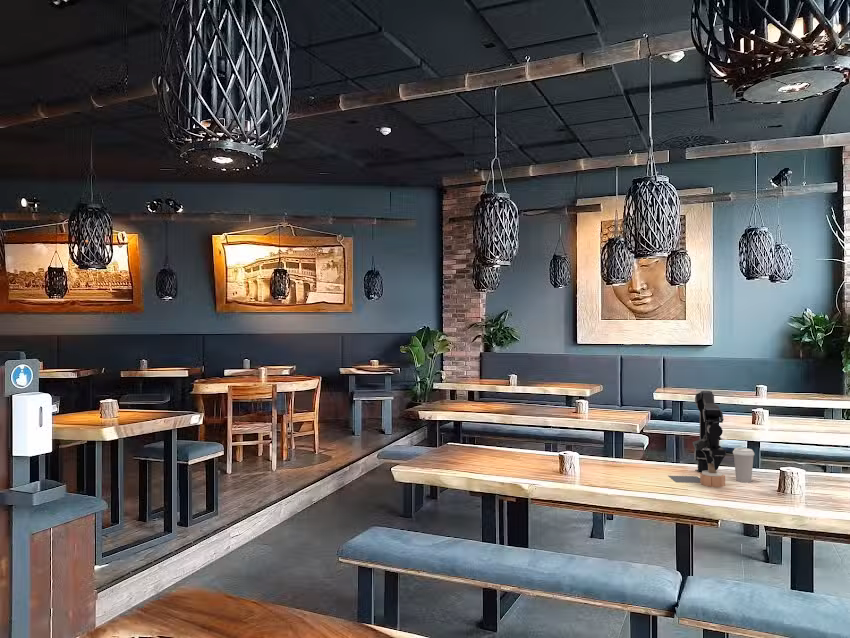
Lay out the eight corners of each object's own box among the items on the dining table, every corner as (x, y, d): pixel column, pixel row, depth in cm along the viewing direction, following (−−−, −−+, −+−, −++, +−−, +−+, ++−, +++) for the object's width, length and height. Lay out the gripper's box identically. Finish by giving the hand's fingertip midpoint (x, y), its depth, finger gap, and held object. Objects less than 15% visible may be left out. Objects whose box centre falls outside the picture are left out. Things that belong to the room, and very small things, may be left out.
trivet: (667, 476, 317) (667, 475, 317) (697, 477, 316) (697, 476, 316) (675, 483, 303) (675, 482, 303) (706, 484, 302) (706, 483, 302)
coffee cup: (743, 477, 315) (742, 447, 315) (759, 482, 306) (759, 450, 306) (728, 479, 312) (727, 448, 312) (744, 483, 303) (744, 451, 303)
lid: (699, 472, 305) (699, 461, 305) (718, 472, 304) (718, 461, 304) (705, 476, 296) (705, 465, 296) (726, 476, 295) (726, 465, 295)
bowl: (698, 482, 305) (697, 472, 305) (720, 483, 304) (719, 472, 304) (705, 487, 295) (705, 476, 295) (727, 488, 294) (727, 477, 294)
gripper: (688, 430, 310) (688, 463, 310) (700, 436, 292) (701, 471, 291) (712, 430, 309) (712, 463, 309) (726, 437, 290) (726, 472, 290)
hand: (712, 467), depth 300 cm, fingers open, 9 cm apart
